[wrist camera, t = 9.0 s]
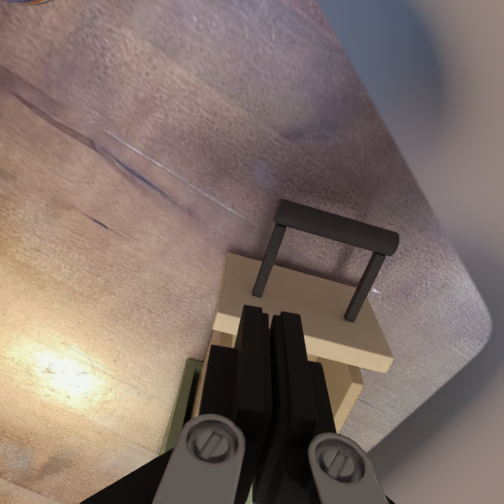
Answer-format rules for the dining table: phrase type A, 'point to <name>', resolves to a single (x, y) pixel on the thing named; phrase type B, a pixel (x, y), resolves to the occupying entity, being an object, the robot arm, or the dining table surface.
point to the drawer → (311, 303)
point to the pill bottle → (24, 1)
